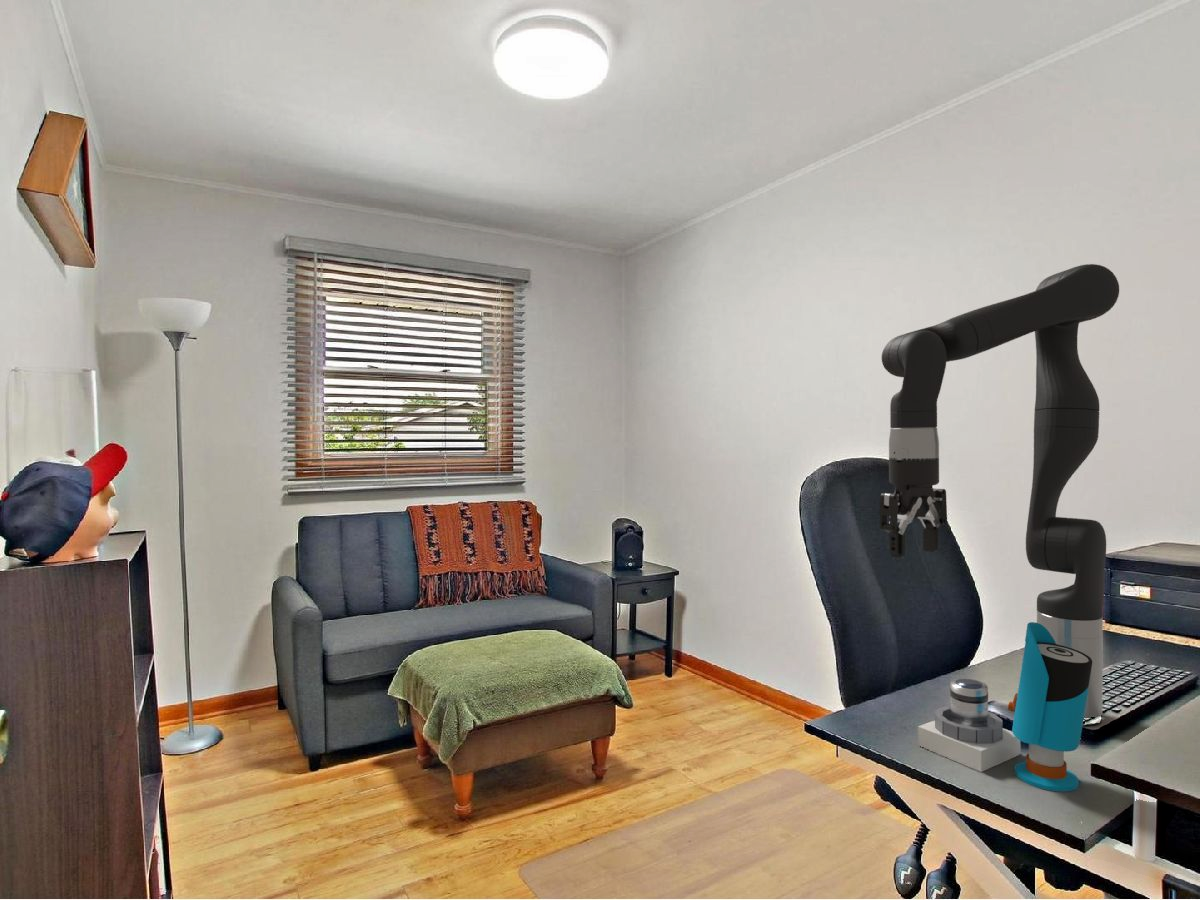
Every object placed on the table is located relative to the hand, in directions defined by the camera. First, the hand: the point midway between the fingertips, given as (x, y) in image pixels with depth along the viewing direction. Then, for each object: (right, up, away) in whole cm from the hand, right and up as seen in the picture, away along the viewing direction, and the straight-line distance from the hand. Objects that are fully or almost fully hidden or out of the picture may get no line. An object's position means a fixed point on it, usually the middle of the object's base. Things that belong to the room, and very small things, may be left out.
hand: (914, 554), depth 117 cm
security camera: (+11, -29, -18) cm, 36 cm away
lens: (+4, -25, -9) cm, 27 cm away
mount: (+4, -28, -9) cm, 30 cm away
